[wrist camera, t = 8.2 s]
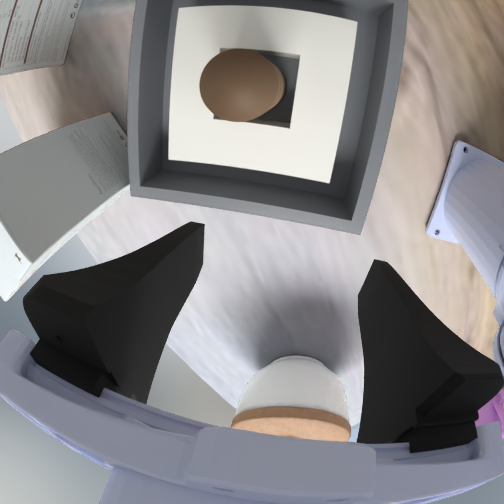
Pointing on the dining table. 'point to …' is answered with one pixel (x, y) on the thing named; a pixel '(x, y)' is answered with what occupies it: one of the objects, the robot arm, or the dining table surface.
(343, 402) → the lidded bowl
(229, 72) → the peg
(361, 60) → the square hole block
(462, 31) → the dining table surface
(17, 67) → the supplement box
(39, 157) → the small box
